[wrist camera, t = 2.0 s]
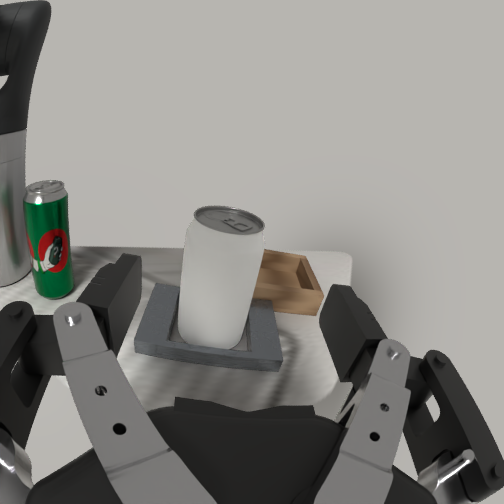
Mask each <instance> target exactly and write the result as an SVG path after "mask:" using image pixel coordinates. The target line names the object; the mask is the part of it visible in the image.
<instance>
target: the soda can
mask: <svg viewBox="0 0 504 504" xmlns="http://www.w3.org/2000/svg"><path fill="white" fill-rule="evenodd" d="M25 191H26V193H25V196H24V198H23V211H24V222H25V231H26V238H27V245H28V252H29V258H30V263H31V269H32V274H33V278H34V283H35V287H36V291H37V292H38V293H39V294H40V295H41V296H43V297H44V298H47V299H59V298H62V297H64V296H66V295H67V294H69V292H70V291H71V290H72V288H73V286H74V275H73V268H72V259H71V249H70V237H69V221H68V193H67V192H66V190H65V188H64V183H63V182H61V181H56V180H47V181H40V182H36V183H33V184H30V185H28V186H27V187H26V189H25Z"/></svg>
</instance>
